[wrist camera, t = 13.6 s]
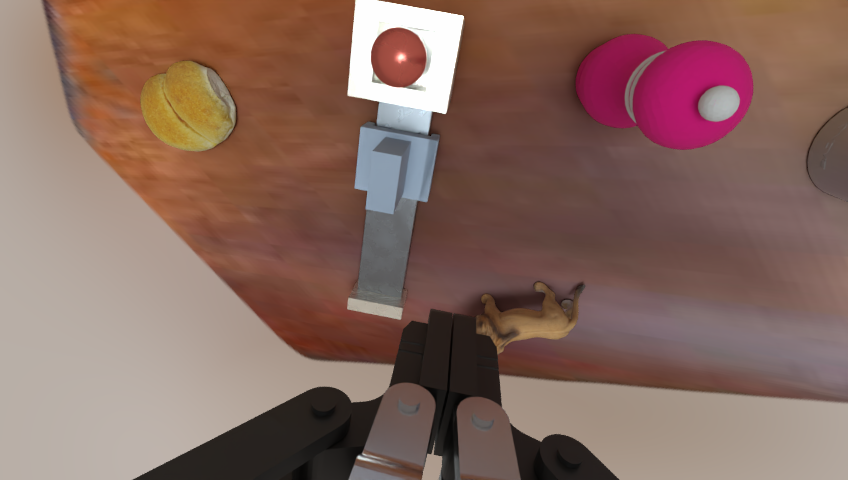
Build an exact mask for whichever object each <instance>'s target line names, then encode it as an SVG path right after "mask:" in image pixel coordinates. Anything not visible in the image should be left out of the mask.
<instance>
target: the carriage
mask: <svg viewBox="0 0 848 480" xmlns="http://www.w3.org/2000/svg"><path fill="white" fill-rule="evenodd" d="M439 138H440V135H437V134H432V135H431V136H426V135H421V134H415V133H410V132H405V131H399V130H394V129H389V128H383V127H378V126H376V123H373V122H367V123H365V124H364V125H362V126H361V129H360V139H359V149H358V159H357V169H356V179H355V189H360V190H365V191H367V200H366V209H368V210H373V211H378V212H383V213H389V214H394V212H395V210H396V208H397V206H398V204H399V201H400V199H401V197H402V198H408V199H413V200H418V201H423V202H427V201H428V197H429V194H430V189H431V183H432V178H433V172H434V166H435V161H436V155H437V149H438V144H439Z"/></svg>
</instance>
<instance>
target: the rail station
mask: <svg viewBox="0 0 848 480" xmlns="http://www.w3.org/2000/svg"><path fill="white" fill-rule="evenodd" d="M464 25H465V20H464V16H460V15H455V14H449V13H443V12H438V11H432V10H427V9H421V8H415V7H410V6H404V5H399V4H393V3H387V2H382V1H376V0H356V4H355V16H354V27H353V39H352V50H351V62H350V74H349V85H348V96H353V97H359V98H364V99H369V100H375V101H379V108H378V116H377V125H376V126H378V127H383V128H389V129H394V130H399V131H405V132H410V133H415V134H421V135H426V136H429V133H430V127H431V121H432V115H433V111H435V112H440V113H445V114H446V112H447V110H448V107H449V104H450V102H451V96H452V91H453V85H454V80H455V74H456V69H457V63H458V58H459V52H460V47H461V41H462V36H463V30H464ZM394 27H401V28H405V29H408V30H411V31H412V32H414V33H415V34H417V35H418V36H419V37H420V39H421V40H422V42H423V44H424V45H425V47H426V49H427V53H428V60H427V64H426V67H425V70H424V72H423V74H422V76H421V77H420V78H419V79H418V80H417V81H416V82H415V83H413V84H411V85H409V86H407V87H403V88H395V87H391V86H388V85H386V84H385V83H383V82H382V81H381V80H380V79H379V78H378V77H377V76H376V74H375V72H374V70H373V68H372V65H371V49H372V46H373V43H374V41H375V40H376V38H377V37H378V36H379V35H380V34H381V33H382V32H383V31H385V30H387V29H390V28H394ZM417 205H418V200H413V199H408V198H402V197H401V199H400V201H399V204H398V206H397V208H396V210H395V212H394V214H389V213H383V212H378V211H373V210H368V209H367V211H366V220H365V229H364V237H363V246H362V254H361V263H360V272H359V280H357V282H356V284H355V286H354V288H353V290H352V292H351V294H350V296H349V298H348V308H347V309H349V310H354V311H359V312H364V313H369V314H375V315H380V316H385V317H390V318H395V319H400V320H401V317H402V313H403V309H404V305H405V301H406V296H407V289H403V288H404V282H405V276H406V270H407V264H408V258H409V253H410V247H411V241H412V235H413V229H414V223H415V217H416V211H417Z"/></svg>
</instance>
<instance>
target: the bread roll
mask: <svg viewBox="0 0 848 480" xmlns="http://www.w3.org/2000/svg"><path fill="white" fill-rule="evenodd" d="M140 103H141V109H142V113H143V116H144V119H145V121H146V123H147V125H148V126H149V128H150V129H151V131H152V132H153V133H154V134H155V135H156V136H157V137H158V138H159V139H160V140H161V141H163V142H165V143H166V144H168V145H170V146H173V147H176V148H179V149H182V150H188V151H205V150H208V149H211V148H213V147H215V146H216V145H217V144H219V143H221V142H222V141H224V140H225V139H226V138H227V137H228V136H229V135H230V133H231V132H232V130H233V128H234V126H235V123H236V106H235V104H234V102H233V100H232V98H231V96H230V93H229V91H228V89H227V88H226V86H225V85H224V83H223V82H222V80H221V79H220V77H219V76H218V75H217V74H216V73H215V72H214V71H213V70H212V69H210V68H207V67H204V66H202V65H200V64H198V63H195V62H192V61H180V62H176V63H174V64H173V65H171V66H170V67H169V69H168V70H167V73H166V74H158V75H155V76H153V77H151V78H150V79H148V80H147V81H146V83H145V84H144V86H143V89H142V92H141V98H140Z"/></svg>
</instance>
